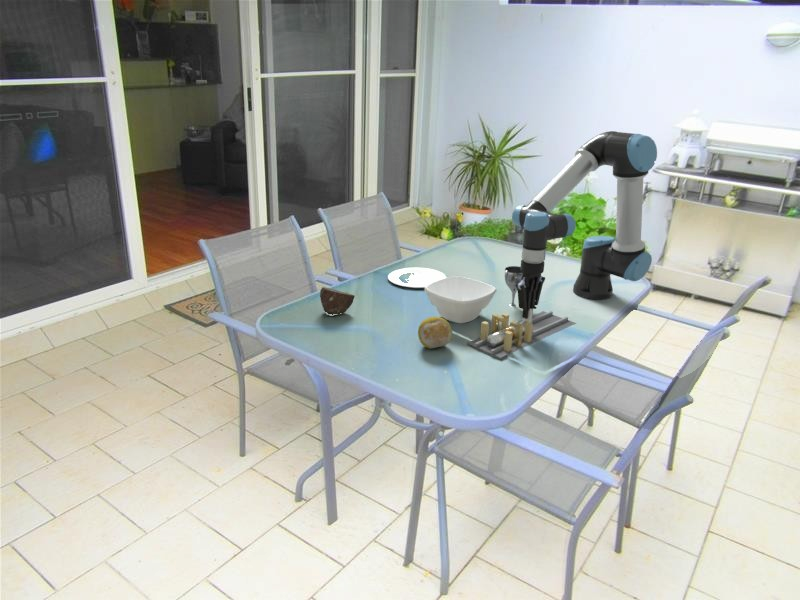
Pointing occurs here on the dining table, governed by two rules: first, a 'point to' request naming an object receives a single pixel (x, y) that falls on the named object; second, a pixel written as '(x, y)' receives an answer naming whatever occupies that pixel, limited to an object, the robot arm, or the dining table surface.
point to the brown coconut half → (335, 300)
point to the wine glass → (513, 279)
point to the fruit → (434, 332)
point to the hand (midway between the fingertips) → (526, 326)
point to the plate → (416, 277)
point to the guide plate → (534, 331)
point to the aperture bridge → (517, 326)
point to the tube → (501, 336)
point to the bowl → (459, 297)
